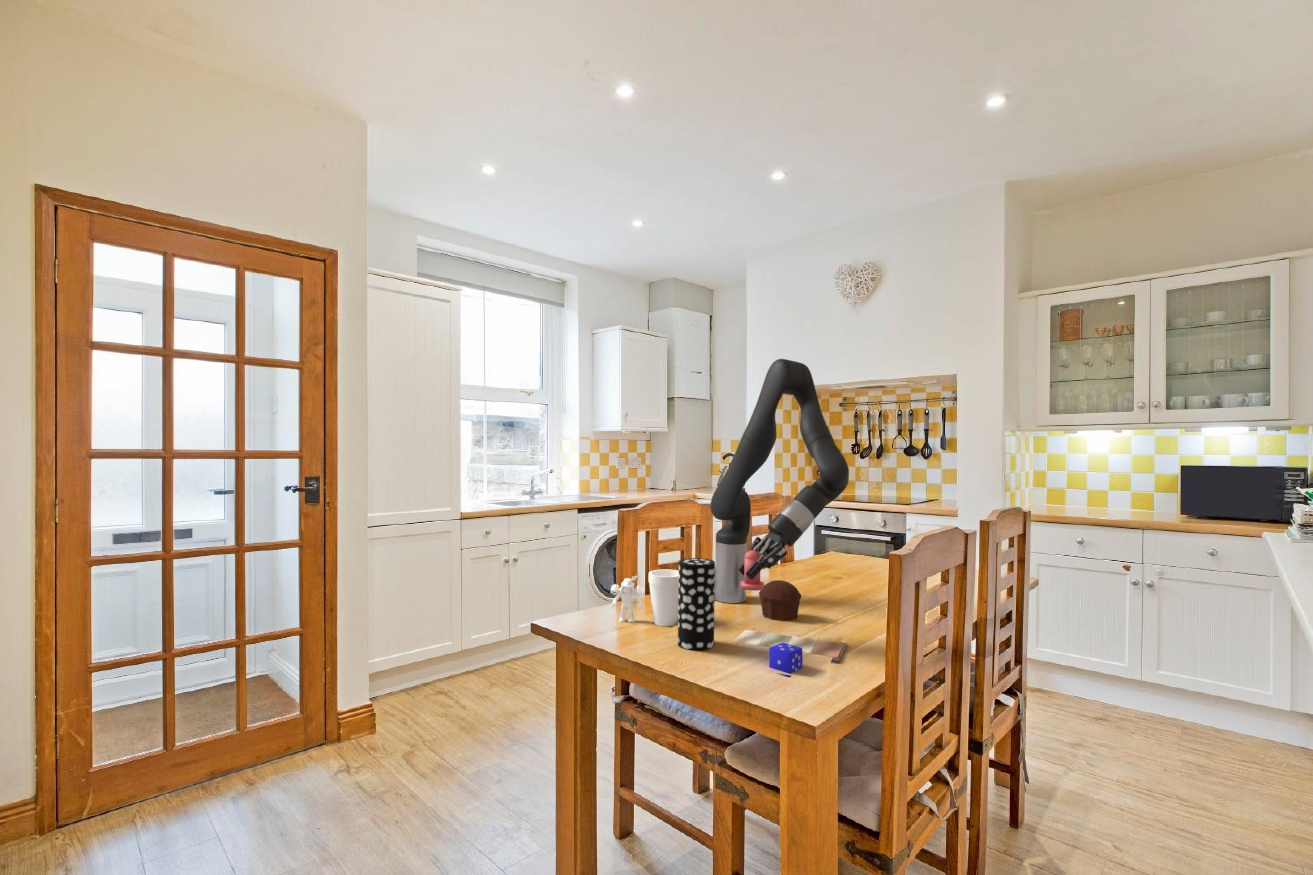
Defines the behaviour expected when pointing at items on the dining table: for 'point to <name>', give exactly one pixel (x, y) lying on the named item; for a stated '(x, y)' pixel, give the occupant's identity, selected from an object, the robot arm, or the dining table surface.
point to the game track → (794, 643)
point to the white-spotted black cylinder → (696, 604)
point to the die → (785, 658)
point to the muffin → (780, 600)
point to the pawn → (755, 583)
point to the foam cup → (664, 596)
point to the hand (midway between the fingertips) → (744, 574)
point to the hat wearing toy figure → (627, 597)
